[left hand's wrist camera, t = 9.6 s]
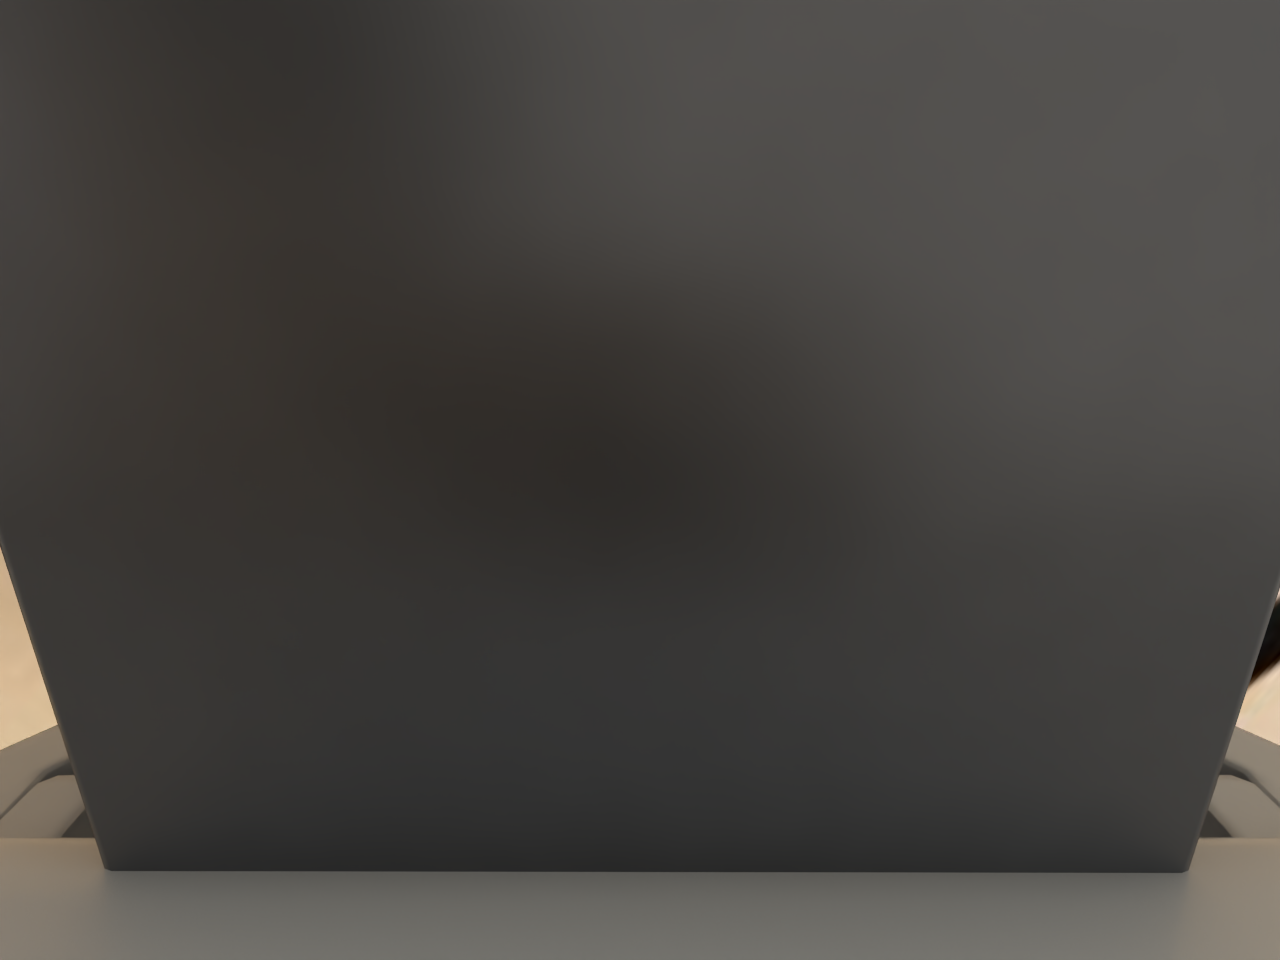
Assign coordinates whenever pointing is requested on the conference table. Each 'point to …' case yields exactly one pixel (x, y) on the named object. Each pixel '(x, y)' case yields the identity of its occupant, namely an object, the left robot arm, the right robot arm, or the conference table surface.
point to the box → (642, 426)
